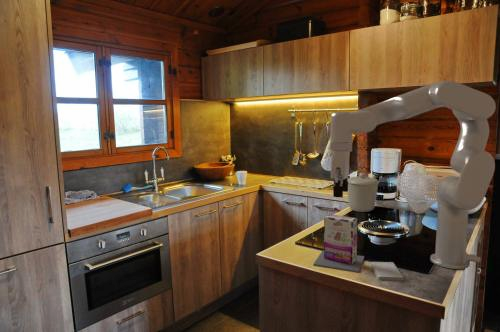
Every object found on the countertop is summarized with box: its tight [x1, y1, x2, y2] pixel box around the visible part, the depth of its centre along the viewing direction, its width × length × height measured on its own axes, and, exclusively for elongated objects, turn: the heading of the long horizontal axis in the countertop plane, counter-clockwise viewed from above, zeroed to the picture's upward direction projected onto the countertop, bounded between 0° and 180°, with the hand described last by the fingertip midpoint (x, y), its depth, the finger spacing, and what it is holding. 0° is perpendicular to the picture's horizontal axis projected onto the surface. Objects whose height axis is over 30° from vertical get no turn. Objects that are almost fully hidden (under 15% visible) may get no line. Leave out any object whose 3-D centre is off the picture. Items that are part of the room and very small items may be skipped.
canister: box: [346, 172, 380, 213], centre depth 204 cm, size 18×18×21 cm
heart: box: [396, 170, 442, 215], centre depth 194 cm, size 28×16×22 cm, turn 10°
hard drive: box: [370, 261, 405, 282], centre depth 127 cm, size 2×8×12 cm
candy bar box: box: [323, 214, 358, 265], centre depth 135 cm, size 11×5×16 cm, turn 53°
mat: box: [313, 249, 365, 273], centre depth 136 cm, size 16×14×1 cm
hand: (340, 194), depth 132 cm, fingers open, 9 cm apart
